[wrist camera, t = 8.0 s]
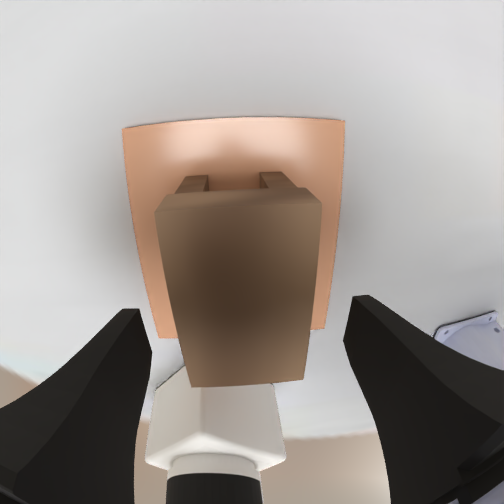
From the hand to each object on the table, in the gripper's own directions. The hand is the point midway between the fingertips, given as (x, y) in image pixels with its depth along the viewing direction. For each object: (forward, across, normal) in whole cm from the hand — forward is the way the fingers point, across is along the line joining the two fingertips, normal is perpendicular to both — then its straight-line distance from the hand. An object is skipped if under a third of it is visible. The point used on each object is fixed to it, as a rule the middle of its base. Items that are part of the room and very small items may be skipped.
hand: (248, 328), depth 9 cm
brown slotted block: (+7, 0, 0) cm, 7 cm away
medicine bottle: (+8, +3, +13) cm, 15 cm away
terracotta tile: (+7, 0, 0) cm, 7 cm away
